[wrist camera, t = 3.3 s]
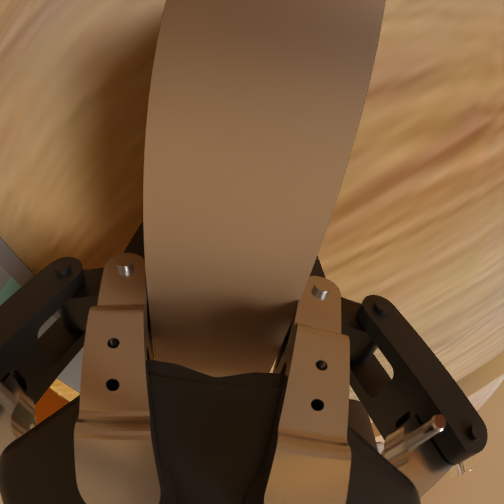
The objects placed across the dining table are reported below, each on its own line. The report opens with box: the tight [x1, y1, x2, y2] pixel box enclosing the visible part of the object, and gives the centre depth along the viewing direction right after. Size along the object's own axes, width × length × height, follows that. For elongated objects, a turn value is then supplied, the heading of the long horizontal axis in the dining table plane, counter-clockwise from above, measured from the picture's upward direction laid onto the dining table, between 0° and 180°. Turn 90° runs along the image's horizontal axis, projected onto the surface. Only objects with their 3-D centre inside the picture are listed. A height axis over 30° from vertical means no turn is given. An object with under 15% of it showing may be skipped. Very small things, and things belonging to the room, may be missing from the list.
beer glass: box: [450, 456, 475, 479], centre depth 40 cm, size 7×7×15 cm
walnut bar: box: [143, 0, 386, 377], centre depth 10 cm, size 20×4×6 cm, turn 170°
